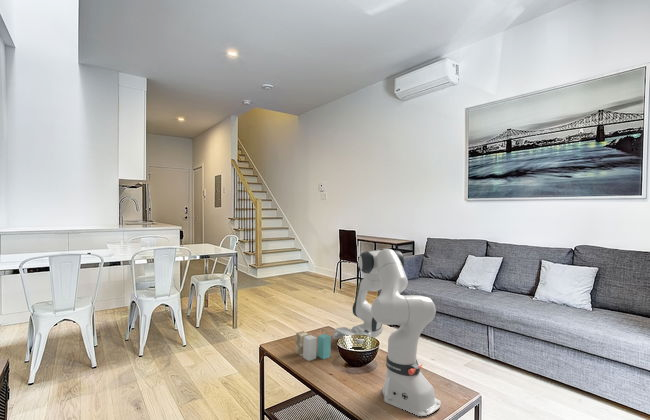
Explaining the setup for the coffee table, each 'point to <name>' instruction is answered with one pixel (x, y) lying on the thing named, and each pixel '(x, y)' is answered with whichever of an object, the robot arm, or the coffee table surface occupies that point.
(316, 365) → the coffee table surface
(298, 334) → the beige carved figurine
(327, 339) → the teal block
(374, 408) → the coffee table surface
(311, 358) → the grey block
